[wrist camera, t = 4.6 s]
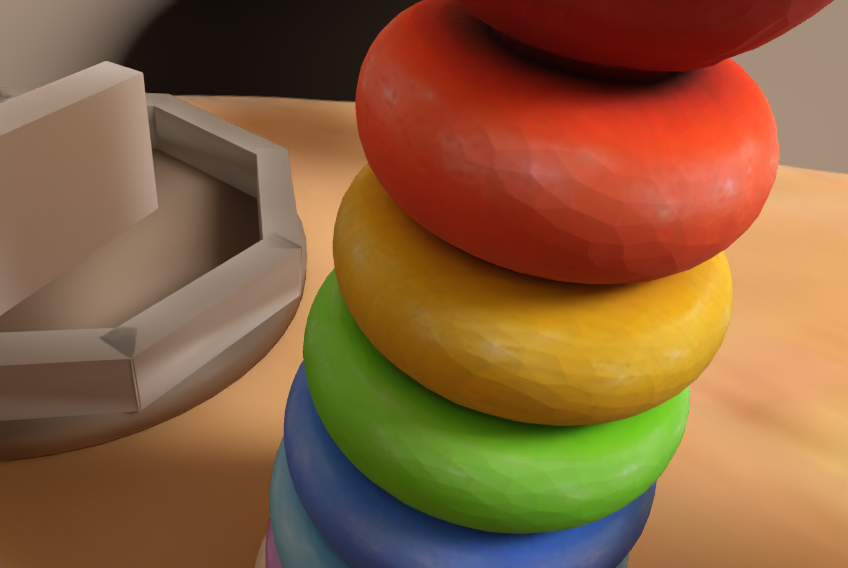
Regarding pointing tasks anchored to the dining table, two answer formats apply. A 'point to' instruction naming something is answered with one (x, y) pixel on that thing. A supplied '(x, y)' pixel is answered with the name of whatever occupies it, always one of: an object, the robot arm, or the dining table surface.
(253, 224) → the plate
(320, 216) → the dining table surface
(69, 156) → the robot arm
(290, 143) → the dining table surface
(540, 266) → the stacking toy
